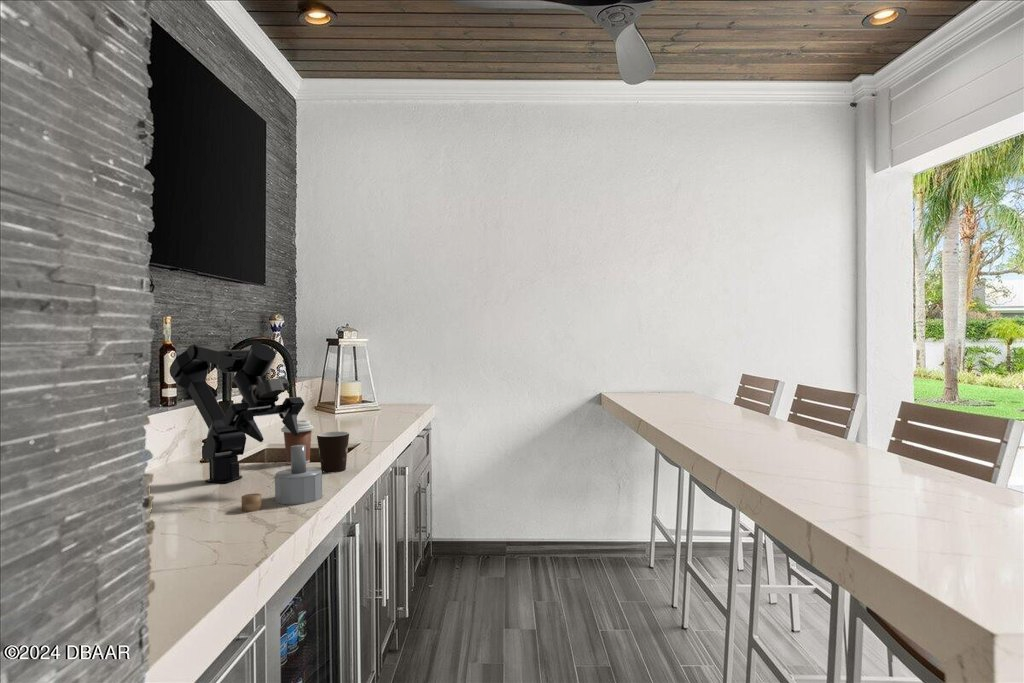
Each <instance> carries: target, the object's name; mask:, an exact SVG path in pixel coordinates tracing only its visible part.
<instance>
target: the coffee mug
mask: <svg viewBox="0 0 1024 683" xmlns="http://www.w3.org/2000/svg"><path fill="white" fill-rule="evenodd" d="M349 438H350V432H348V431H325V432H320V433H317V434H316V439H317V448H318V453H319V461H320V467H321V468H320V469H321V470H322V471H324V472H323V473H326V472H334V473H340V472H344V471H346V470H347V469H346V468H347V460H348V450H349V449H348V448H349V440H350V439H349Z"/></svg>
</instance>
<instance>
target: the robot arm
mask: <svg viewBox="0 0 1024 683" xmlns="http://www.w3.org/2000/svg"><path fill="white" fill-rule="evenodd" d="M275 359H276V351H275V350H274V349H272V348H271V347H269V346H267V345H264V344H263V343H262V342H261V341H253V342H252V343H251V346H250V349H224V348H220V347H218V346H213V345H211V344H208V343H198V344H197V343H194V344H191V345H189V346H188V347H187V349H186V350H185V351H183V352H182V353H180V354H179V355H177V356H176V357H175V358H174V360H173V361H172V363H171V365H170V367H169V375H170V377H171V379H172V380H173V381H174V382H175V384H176V385H177V386H179V387H180V388H182V389H184V390H186V391H188V393H189V395H190V397H191V399H192V401H193V403H194V404H195V406H196V408H197V409H198V412H199V413H200V415H201V417H202V420H203V421H204V423H205V424H206V426H207V428H208V431H207V434H206V442H205V443H204V445H203V447H202V449H201V453H202V458H203V459H205V460H206V459H207V460H208V462H209V463H208V464H209V478H208V479H205V480H204V482H205V483H217V484H219V483H222V484H228V483H231V482H233V481H237V480H239V479H243V475H240V462H239V456H243V455H244V453H245V447H246V443H247V436H249V437H251V438H252V439H254V440H256V442H257V441H258V442H259V443H263V442H264V439H265V438H264V437H263V434H262V432H261V430H260V429H259V427H258V425H257V422H256V421H255V418H254V417H266V416H273V415H278V416H279V417H280V419H282V420H281V422H282V424H284V426H286V427H287V428H288V429H289V431H290V432H291V433H292V434H293V435H294V436H295V437H297V436H298V425H297V420H298V416H299V414H300V412H301V410H302V409H303V407H304V406H305V404H306V403H305V401H304V400H303V398H302V397H301V396H294V397H293V396H292V397H286V398H285V399H284V400H283V402H282V403H281V404H276V402H279V399H280V397H279V396H280V394H282V393H284V392H286V391H287V390H289V389H290V386H291V385H290V383H289V380H288V378H286V376H280V377H278V378H269V379H268V378H267V379H265V380H262V378H261V377H263V376H265V375H266V374H267V373H268V370H269V369H270V367H272V366H271V365H272V364H273V362H274V360H275ZM212 364H213V365H216V366H217V368H218V370H220V371H221V372H223V373H224V374H234V376H233V378H232V381H231V384H230V387H231V389H238V391H239V393H240V395H241V397H242V399H241V401H240V402H237V403H236V402H235V403H229V404H230V405H229V407H228V408H227V410H226V412H224V411H223V409H222V407H221V405H220V404H219V402H218V400H217V398H216V397H215V395H214V393H213V391H212V390H211V388H210V386H209V385H208V383H207V376H208V371H209V370H210V368H211V365H212ZM246 435H247V436H246Z"/></svg>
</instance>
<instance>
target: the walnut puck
mask: <svg viewBox="0 0 1024 683" xmlns="http://www.w3.org/2000/svg"><path fill="white" fill-rule="evenodd" d="M262 498H263V496H262V494H261V493H247V494H244V495H241V500H240V501H241V511H242V513H243V512H244V513H254V512H258V511H261V510H262V509H263V506H262V505H263V501H262Z"/></svg>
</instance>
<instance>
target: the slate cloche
mask: <svg viewBox="0 0 1024 683" xmlns="http://www.w3.org/2000/svg"><path fill="white" fill-rule="evenodd" d="M274 474H275V475H274V496H275V497H274V498H275V499H274V500H275V501H274V502H275V503H277V504H280V505H301V504H302V505H303V504H309V503H313V502H317V501H318V500H321V499H322V498H323V472H322V469H321V468H319V467H307V463H306V445H294V446H291V465H290V468H288V469H283V470H280V471H276V473H274Z"/></svg>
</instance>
